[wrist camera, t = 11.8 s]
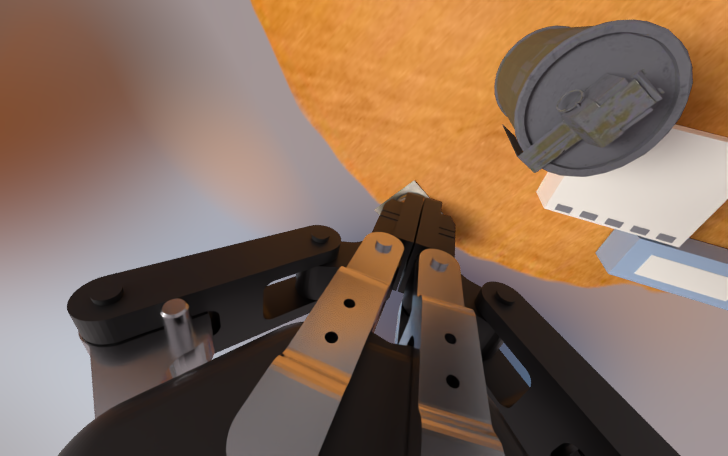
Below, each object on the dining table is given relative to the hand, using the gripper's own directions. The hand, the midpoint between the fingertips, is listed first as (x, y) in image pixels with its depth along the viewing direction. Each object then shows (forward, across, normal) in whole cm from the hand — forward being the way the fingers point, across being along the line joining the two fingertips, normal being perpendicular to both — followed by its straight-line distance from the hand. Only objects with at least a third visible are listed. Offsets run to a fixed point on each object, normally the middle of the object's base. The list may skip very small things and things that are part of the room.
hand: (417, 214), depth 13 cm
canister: (+32, -10, -4) cm, 34 cm away
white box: (+32, -24, +3) cm, 40 cm away
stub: (+32, -36, +12) cm, 49 cm away
